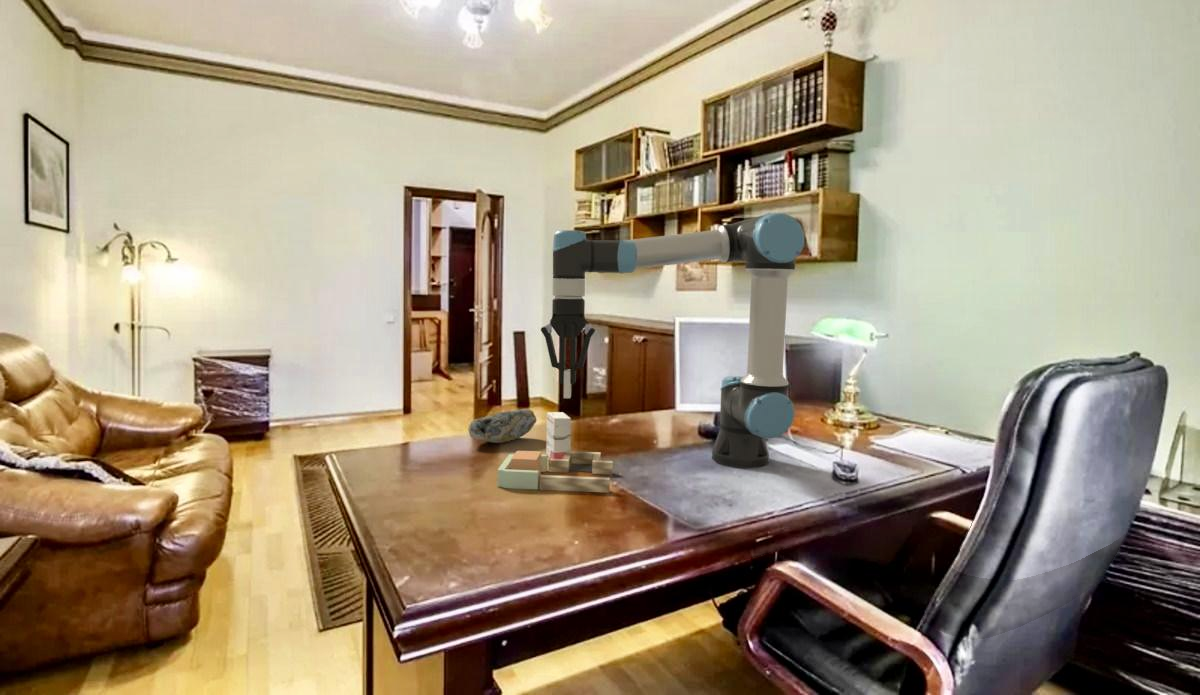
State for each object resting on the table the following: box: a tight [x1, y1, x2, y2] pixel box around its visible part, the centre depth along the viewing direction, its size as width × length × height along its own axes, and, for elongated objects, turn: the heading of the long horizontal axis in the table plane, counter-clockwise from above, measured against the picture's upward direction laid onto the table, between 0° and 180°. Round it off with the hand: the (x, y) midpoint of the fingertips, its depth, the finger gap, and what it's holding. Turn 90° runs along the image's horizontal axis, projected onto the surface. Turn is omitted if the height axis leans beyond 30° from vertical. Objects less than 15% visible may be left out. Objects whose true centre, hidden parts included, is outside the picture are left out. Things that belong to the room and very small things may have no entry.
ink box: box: [545, 411, 572, 459], centre depth 175 cm, size 9×5×12 cm, turn 18°
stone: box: [468, 408, 537, 444], centre depth 189 cm, size 11×21×10 cm, turn 119°
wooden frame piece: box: [539, 450, 614, 494], centre depth 160 cm, size 16×22×3 cm
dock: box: [496, 453, 548, 490], centre depth 157 cm, size 10×15×4 cm, turn 176°
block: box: [511, 450, 542, 479], centre depth 156 cm, size 6×7×6 cm
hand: (567, 397), depth 154 cm, fingers closed
